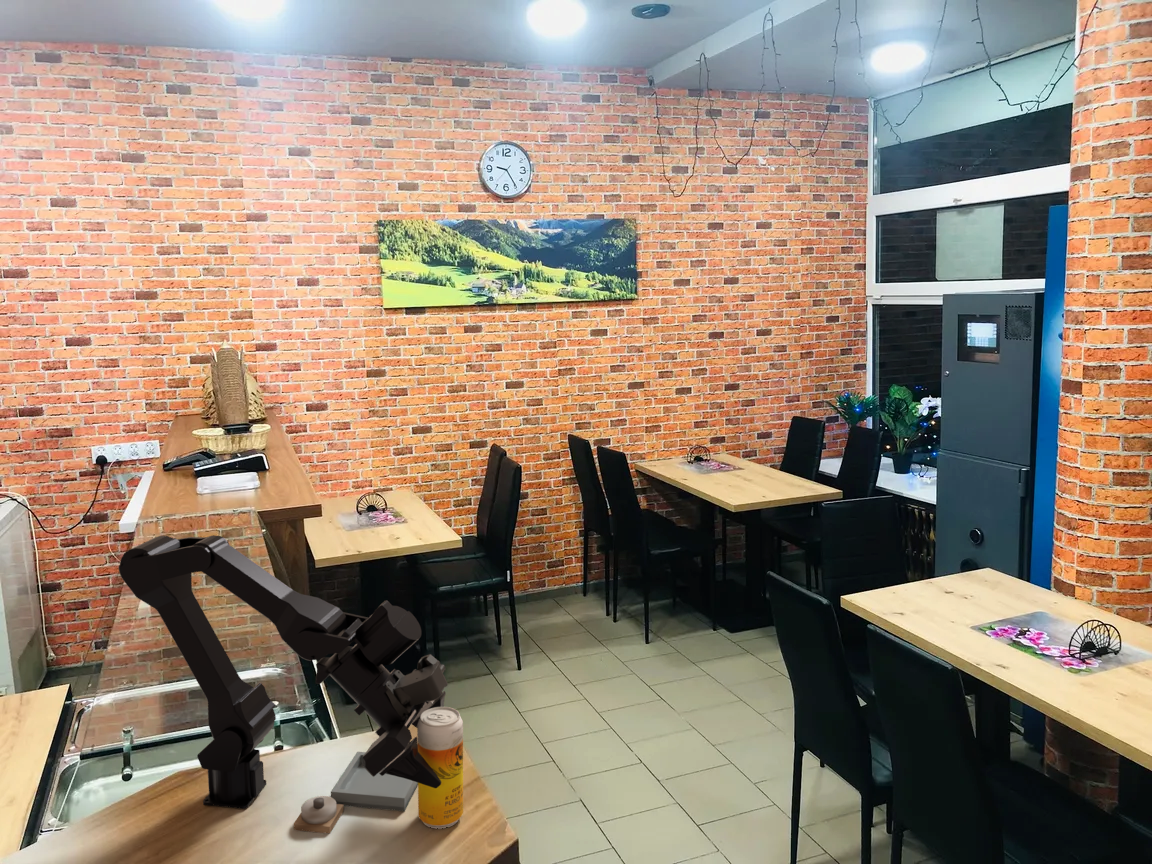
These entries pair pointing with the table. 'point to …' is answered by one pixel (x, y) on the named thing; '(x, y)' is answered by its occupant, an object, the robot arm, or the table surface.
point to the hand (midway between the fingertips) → (449, 766)
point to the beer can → (441, 766)
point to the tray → (372, 788)
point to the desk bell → (318, 815)
